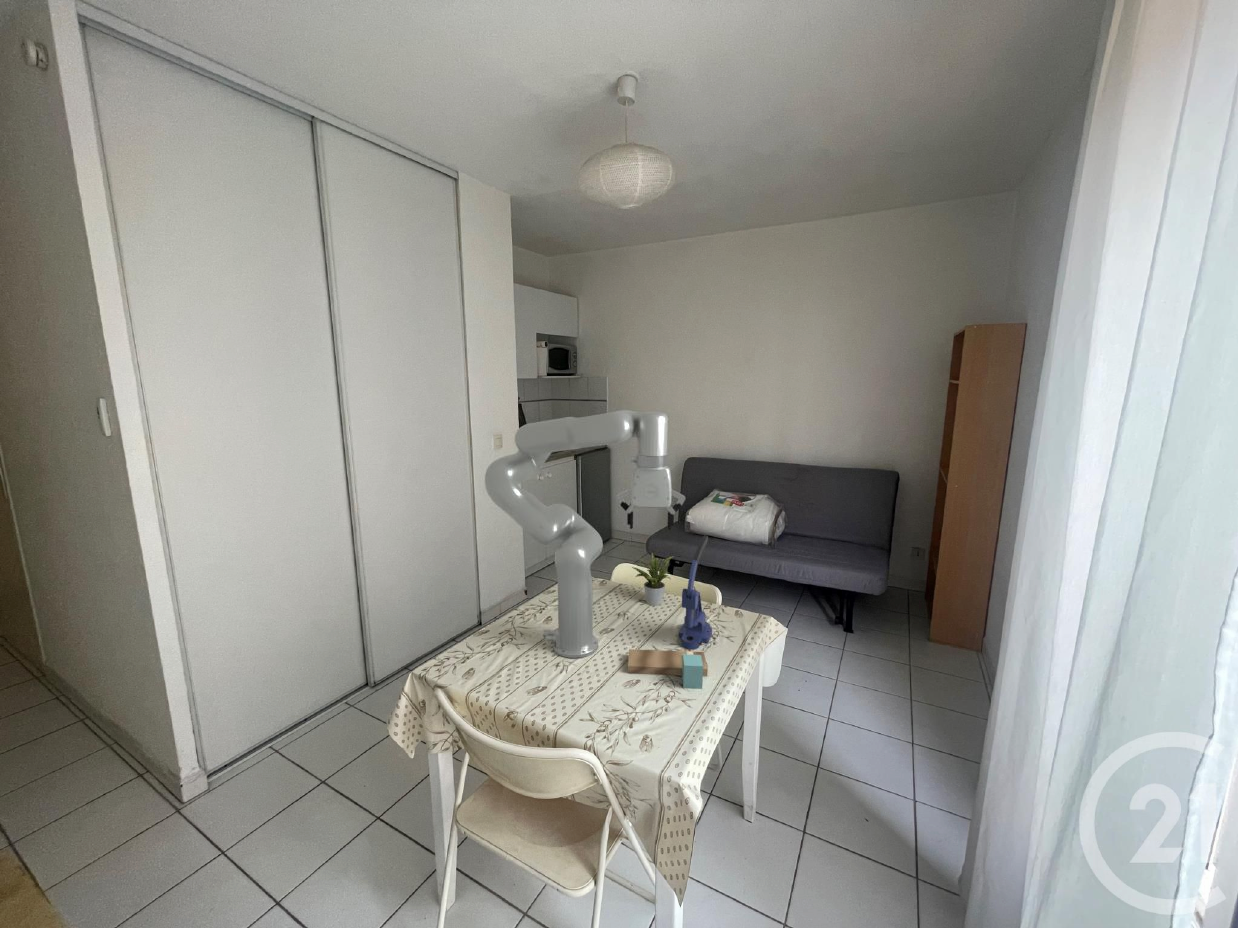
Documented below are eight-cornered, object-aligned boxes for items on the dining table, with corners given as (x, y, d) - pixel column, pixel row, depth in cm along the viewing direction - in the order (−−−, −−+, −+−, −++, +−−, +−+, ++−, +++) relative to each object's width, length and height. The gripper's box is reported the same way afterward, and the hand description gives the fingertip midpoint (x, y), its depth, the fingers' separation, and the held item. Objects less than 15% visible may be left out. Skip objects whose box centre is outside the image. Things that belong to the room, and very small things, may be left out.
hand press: (702, 655, 134) (706, 556, 130) (671, 648, 138) (674, 552, 133) (716, 624, 152) (720, 536, 147) (689, 619, 155) (692, 532, 150)
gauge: (683, 688, 120) (684, 665, 119) (680, 663, 130) (681, 642, 130) (702, 688, 120) (703, 666, 119) (697, 664, 130) (698, 643, 129)
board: (627, 673, 126) (628, 665, 126) (628, 656, 134) (629, 649, 133) (707, 676, 125) (707, 668, 125) (703, 658, 133) (703, 651, 133)
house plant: (656, 588, 178) (657, 544, 175) (685, 601, 167) (686, 555, 164) (626, 599, 169) (626, 553, 166) (654, 614, 158) (655, 565, 155)
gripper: (616, 463, 121) (615, 531, 123) (687, 464, 120) (685, 533, 123) (617, 458, 128) (617, 522, 131) (685, 459, 127) (683, 524, 130)
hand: (650, 527), depth 127 cm, fingers open, 9 cm apart
